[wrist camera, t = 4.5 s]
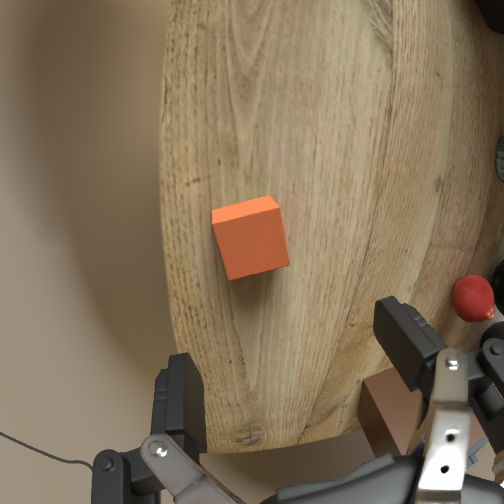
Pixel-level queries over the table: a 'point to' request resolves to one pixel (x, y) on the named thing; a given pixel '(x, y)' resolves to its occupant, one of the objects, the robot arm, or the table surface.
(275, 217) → the block
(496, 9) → the flower pot
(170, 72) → the table surface
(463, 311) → the onion
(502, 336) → the black ball
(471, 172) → the table surface
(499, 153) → the can
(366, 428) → the brown holder box
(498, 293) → the decorative stone
